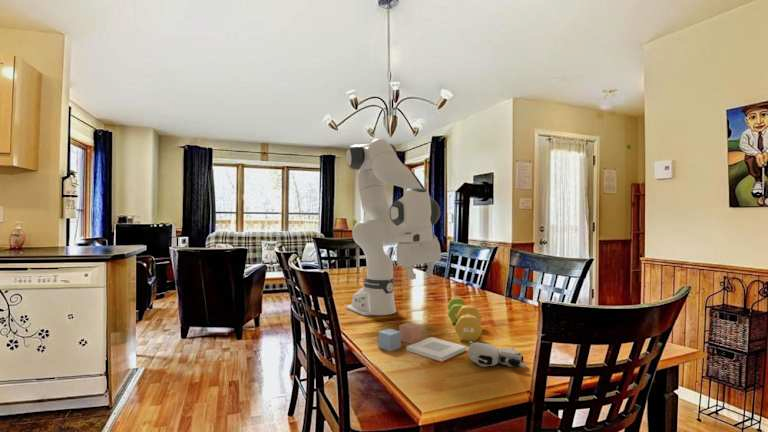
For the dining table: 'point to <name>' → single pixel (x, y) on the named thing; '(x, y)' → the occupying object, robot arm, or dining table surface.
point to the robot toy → (494, 355)
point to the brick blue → (389, 339)
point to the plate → (436, 349)
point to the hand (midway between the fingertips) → (421, 277)
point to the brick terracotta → (410, 332)
